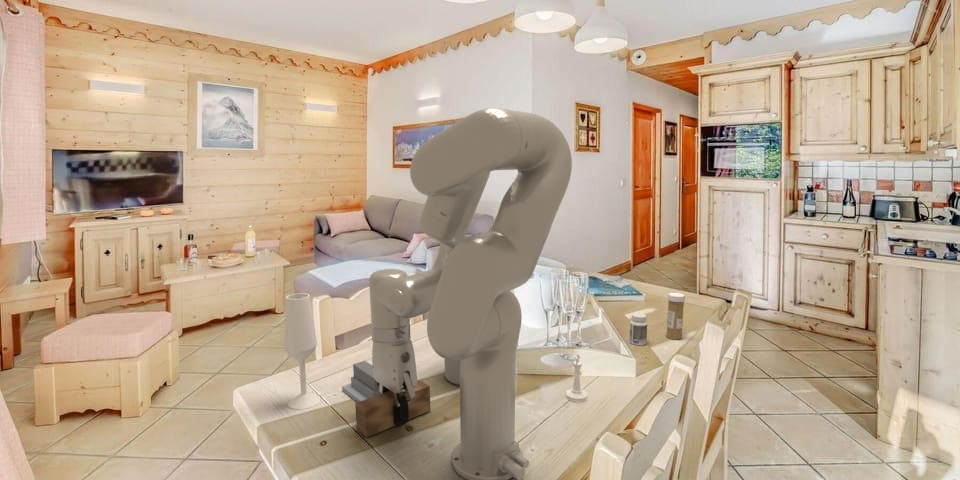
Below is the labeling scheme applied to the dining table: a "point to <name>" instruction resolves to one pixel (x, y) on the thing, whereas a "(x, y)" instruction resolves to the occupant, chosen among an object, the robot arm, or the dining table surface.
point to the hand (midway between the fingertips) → (394, 417)
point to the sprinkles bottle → (675, 315)
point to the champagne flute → (300, 342)
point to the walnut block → (389, 409)
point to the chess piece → (576, 384)
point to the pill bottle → (638, 329)
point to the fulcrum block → (362, 382)
